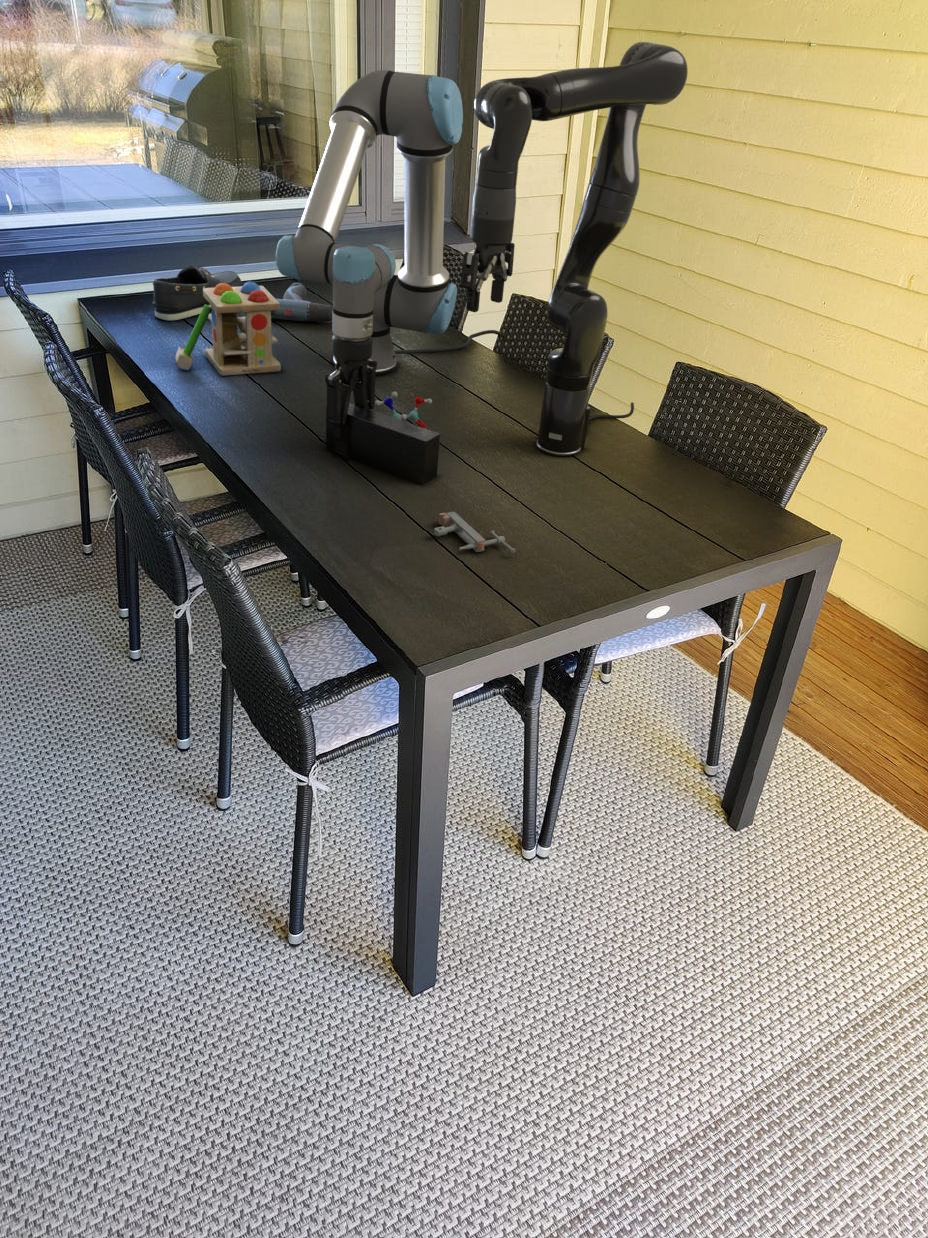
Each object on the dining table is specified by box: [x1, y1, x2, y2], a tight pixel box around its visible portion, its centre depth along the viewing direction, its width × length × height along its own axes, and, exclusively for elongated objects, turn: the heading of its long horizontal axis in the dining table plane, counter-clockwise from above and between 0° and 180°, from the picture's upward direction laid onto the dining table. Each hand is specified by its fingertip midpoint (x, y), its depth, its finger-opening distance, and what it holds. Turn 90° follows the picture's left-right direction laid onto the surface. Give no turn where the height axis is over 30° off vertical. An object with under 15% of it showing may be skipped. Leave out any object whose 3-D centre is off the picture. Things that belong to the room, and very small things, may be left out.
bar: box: [325, 402, 441, 486], centre depth 192 cm, size 24×5×9 cm, turn 58°
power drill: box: [271, 282, 333, 322], centre depth 265 cm, size 5×19×20 cm
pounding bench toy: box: [174, 281, 282, 377], centre depth 225 cm, size 23×14×18 cm, turn 116°
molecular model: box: [374, 391, 433, 429], centre depth 205 cm, size 12×10×10 cm
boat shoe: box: [151, 264, 243, 321], centre depth 263 cm, size 13×33×10 cm, turn 147°
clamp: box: [433, 511, 516, 555], centre depth 170 cm, size 15×2×10 cm
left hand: (350, 449), depth 197 cm, fingers closed on bar, 5 cm apart
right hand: (484, 306), depth 179 cm, fingers open, 8 cm apart
